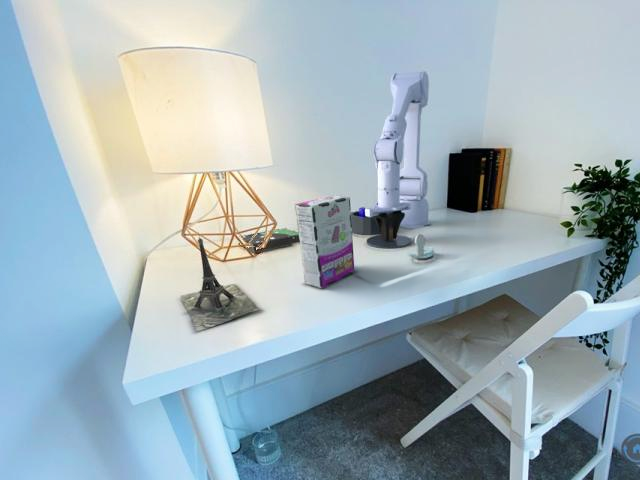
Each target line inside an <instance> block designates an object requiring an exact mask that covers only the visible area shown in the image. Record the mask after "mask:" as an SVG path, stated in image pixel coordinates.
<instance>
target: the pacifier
mask: <svg viewBox="0 0 640 480" xmlns="http://www.w3.org/2000/svg"><path fill="white" fill-rule="evenodd" d="M414 243H415V244H414V245H416V253H409V252H406V255H408V256H409V257H412V258H413V262H415V263H420V264H424V263H431V262H434V261H436V260H437V258H438V257H437V256H436V255H434V254H435V250H434V248H433V247H432V246H425V245H426V237H425V235H424V234H422V233H418V234H417V235H416V236H415V238H414ZM428 258H429V259H428Z"/></svg>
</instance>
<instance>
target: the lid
mask: <svg viewBox="0 0 640 480" xmlns="http://www.w3.org/2000/svg"><path fill="white" fill-rule="evenodd" d="M365 242H366V244H367V245H368V246H370V247H371V248H377V249H385V250H386V249H387V250H388V249H391V250H392V249H400V248H405V247H407V246H410V245H411V244H412V243H413V241H412V238H410V237H409V236H407V235H402V234H401V235H400V234H397V237H396V239H393V227H389V239H388V241H385V240H382V238H381V234H380V235H372V236H370V237H368V238H367V239H366V241H365Z"/></svg>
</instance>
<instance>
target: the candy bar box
mask: <svg viewBox="0 0 640 480" xmlns="http://www.w3.org/2000/svg"><path fill="white" fill-rule="evenodd" d="M294 208H295V209H294V210H295V216H296V222H297V223H296V225H297V232H299V240H300V242H299V246H300V254H301V261H302V269H303V270H302V271H303V279H304V284H305V285H307V286H311V287H314V288H318V289H324V288H326V287H329V286H330V285H332V284H334V283H336V282H337V281H338V282H339V280H341V279H343V278H345V277H347V276H348V275H351V274H353V272H354V271H355V258H354V257H355V256H354V255H355V254H354V240H353V233H352V223H351V212H352V210H351V209H352V208H351V197H350V196H344V195H329V196H325V197H320V198H316V199H312V200H311V199H310V200H308V201H307V200H306V201H302V202H299V203H294Z"/></svg>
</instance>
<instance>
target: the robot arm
mask: <svg viewBox="0 0 640 480" xmlns="http://www.w3.org/2000/svg"><path fill="white" fill-rule="evenodd" d="M389 84H390V85H389V86H390V87H389V88H390V94H391V97H392V100H393V102H392V108H391V114H389V115H387V117H386V118H385V121H384V124H383V128H382V131H381V135H380V138H379V139H378V140H377V141H375V142H374V145H373V159H374V164H375V170H376V171H377V203H378V205H377V204H376V205H375V206H371V207H366V209H365V216H367V217H373V218H374V220H375V221H376V223H377V225H378V228H379V231H380V235H381V238H382V240H385V241H388V239H389V227H393V239H396V237H397V235H398V234H399V230H400V226H401V227H406V228H409V229H411V228H416V227H420V226H423V227H425V226H430V222H429V209H430V208H429V207H430V206H429V202H428V200H427V199H426V196H427V194H428V189H429V185H428V183H429V182H428V174H427V172H426V171H425V170H423V168H421V167H420V149H421V148H420V147H421V146H420V144H421V121H422V118H421V117H422V111H423V108H425V107H426V106H428V102H429V90H430V89H429V88H430V87H429V86H430V83H429V75H428V73H427V71H425V70H422V71H416V72H415V71H414V72H403V73H396V72H395V73H393V74H392V76H391V78H390V83H389ZM402 162H403V168H401V163H402Z"/></svg>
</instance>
